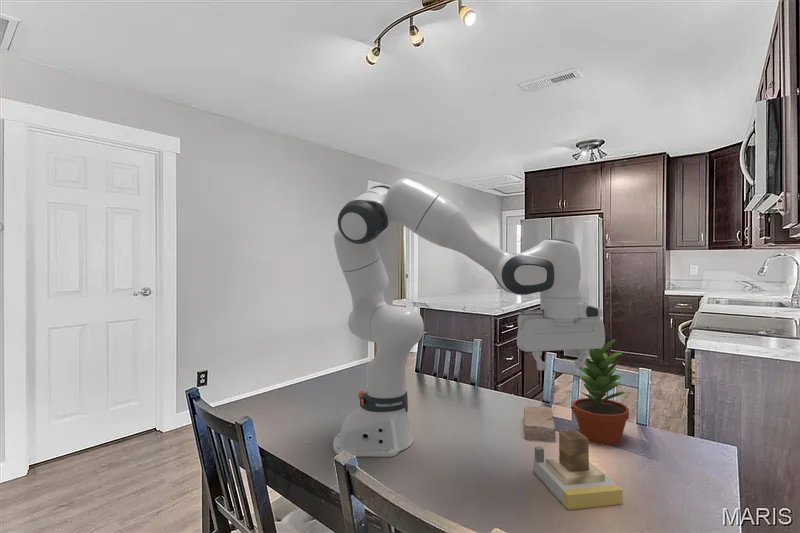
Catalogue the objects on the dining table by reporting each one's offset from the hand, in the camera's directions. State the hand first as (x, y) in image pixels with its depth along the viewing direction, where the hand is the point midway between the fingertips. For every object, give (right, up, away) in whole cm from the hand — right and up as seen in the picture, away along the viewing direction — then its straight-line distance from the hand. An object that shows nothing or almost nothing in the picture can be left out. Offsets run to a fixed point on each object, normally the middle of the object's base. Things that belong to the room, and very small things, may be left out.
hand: (560, 368), depth 99 cm
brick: (+4, -25, +29) cm, 38 cm away
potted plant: (+20, -25, +22) cm, 39 cm away
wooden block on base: (+2, -23, -3) cm, 23 cm away
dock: (+2, -26, -3) cm, 26 cm away
